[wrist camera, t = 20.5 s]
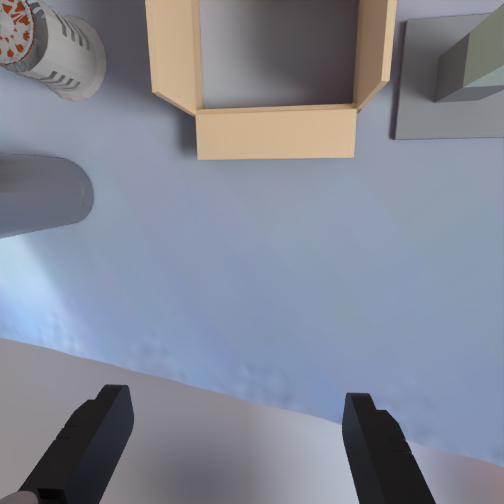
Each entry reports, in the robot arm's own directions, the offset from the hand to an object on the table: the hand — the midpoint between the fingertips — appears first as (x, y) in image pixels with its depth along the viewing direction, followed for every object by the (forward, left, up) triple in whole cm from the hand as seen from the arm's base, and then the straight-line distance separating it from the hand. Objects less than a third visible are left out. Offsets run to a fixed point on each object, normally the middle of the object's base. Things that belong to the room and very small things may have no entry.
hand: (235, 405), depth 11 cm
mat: (+19, +18, -31) cm, 41 cm away
